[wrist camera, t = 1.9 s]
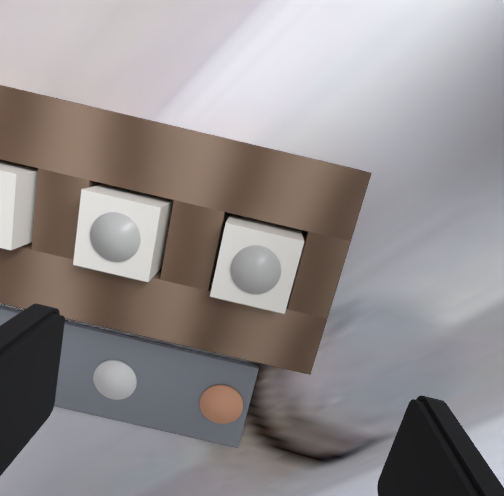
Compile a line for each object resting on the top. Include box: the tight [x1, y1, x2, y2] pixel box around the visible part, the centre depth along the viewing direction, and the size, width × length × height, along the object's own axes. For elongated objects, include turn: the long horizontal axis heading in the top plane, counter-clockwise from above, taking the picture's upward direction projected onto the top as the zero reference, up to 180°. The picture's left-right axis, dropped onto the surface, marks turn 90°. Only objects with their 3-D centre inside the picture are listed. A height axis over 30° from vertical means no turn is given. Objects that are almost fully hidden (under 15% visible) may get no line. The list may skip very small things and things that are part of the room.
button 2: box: [210, 214, 304, 314], centre depth 23 cm, size 4×4×3 cm
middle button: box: [73, 184, 174, 282], centre depth 23 cm, size 4×4×3 cm
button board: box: [0, 85, 371, 374], centre depth 25 cm, size 26×13×3 cm, turn 77°
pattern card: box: [0, 306, 259, 448], centre depth 29 cm, size 20×7×1 cm, turn 77°
